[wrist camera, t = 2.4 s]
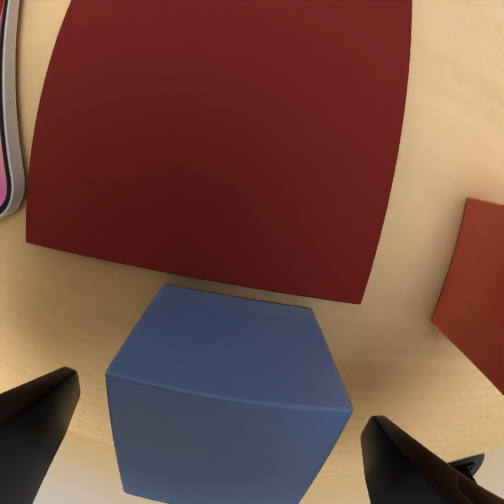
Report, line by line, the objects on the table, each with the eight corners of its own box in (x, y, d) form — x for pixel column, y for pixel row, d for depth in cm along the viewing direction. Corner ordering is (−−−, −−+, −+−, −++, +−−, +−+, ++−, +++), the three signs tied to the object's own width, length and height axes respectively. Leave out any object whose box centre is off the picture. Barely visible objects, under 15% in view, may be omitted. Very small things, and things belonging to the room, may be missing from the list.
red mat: (357, 300, 10) (360, 305, 10) (31, 240, 10) (25, 242, 9) (407, -11, 7) (412, -15, 7) (100, -48, 7) (96, -53, 6)
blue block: (279, 414, 12) (290, 516, 7) (156, 395, 11) (123, 493, 6) (312, 308, 10) (355, 409, 6) (163, 282, 10) (103, 372, 5)
